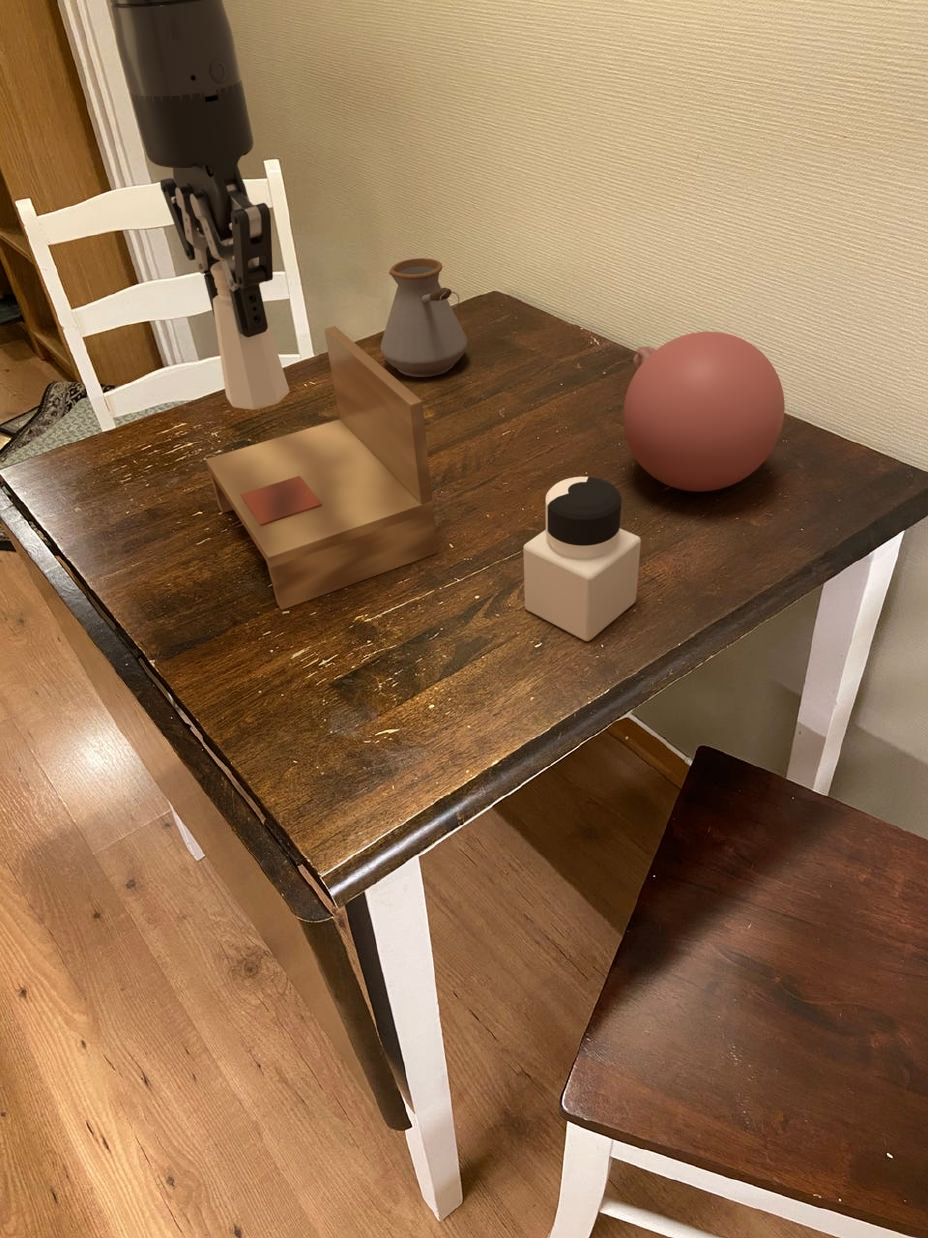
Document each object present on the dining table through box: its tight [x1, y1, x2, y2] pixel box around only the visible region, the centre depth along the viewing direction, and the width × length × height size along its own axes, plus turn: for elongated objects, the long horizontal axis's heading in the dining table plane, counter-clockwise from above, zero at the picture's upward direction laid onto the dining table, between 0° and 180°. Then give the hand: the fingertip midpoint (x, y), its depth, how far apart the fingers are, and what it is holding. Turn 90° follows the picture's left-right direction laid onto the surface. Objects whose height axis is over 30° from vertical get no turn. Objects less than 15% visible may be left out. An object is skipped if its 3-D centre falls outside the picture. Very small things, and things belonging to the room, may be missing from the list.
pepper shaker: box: [211, 258, 291, 411], centre depth 71 cm, size 5×5×11 cm
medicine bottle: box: [523, 476, 642, 642], centre depth 74 cm, size 7×7×12 cm
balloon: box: [622, 331, 786, 493], centre depth 89 cm, size 15×20×15 cm
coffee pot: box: [379, 257, 468, 378], centre depth 109 cm, size 21×12×15 cm, turn 17°
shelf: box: [205, 325, 439, 611], centre depth 84 cm, size 16×20×16 cm
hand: (241, 324), depth 71 cm, fingers closed on pepper shaker, 4 cm apart
